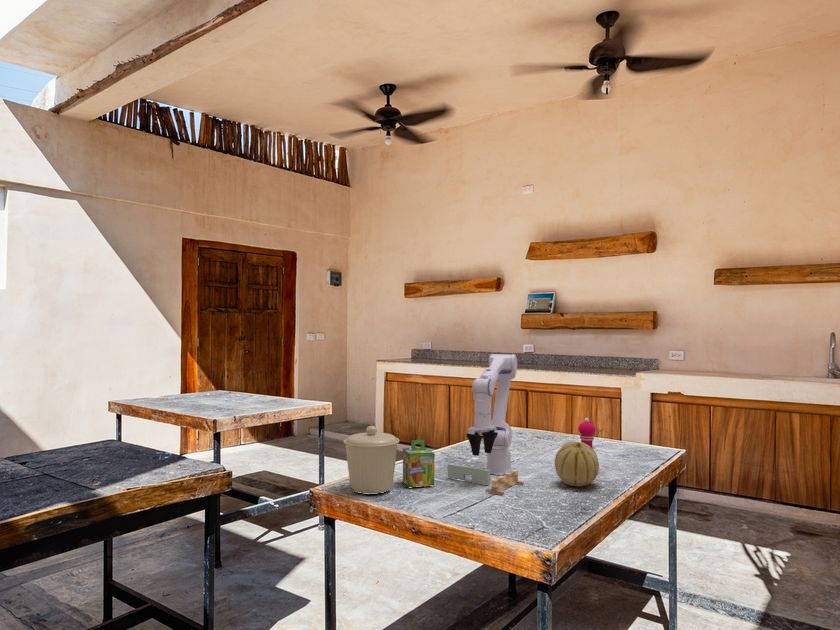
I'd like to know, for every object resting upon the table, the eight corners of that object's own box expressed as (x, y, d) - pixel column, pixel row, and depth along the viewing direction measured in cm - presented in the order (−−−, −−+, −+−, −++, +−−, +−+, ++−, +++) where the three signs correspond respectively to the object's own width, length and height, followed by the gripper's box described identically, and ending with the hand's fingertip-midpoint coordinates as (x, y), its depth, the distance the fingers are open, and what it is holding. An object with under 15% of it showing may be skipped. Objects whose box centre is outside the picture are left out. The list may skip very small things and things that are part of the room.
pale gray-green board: (450, 477, 202) (450, 463, 202) (490, 484, 193) (490, 470, 193) (447, 478, 201) (447, 464, 201) (487, 485, 192) (487, 470, 192)
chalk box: (408, 489, 188) (408, 444, 188) (401, 482, 196) (401, 438, 197) (435, 487, 190) (435, 442, 190) (427, 480, 199) (427, 437, 199)
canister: (399, 483, 195) (399, 421, 195) (399, 499, 177) (399, 430, 177) (346, 483, 194) (346, 421, 195) (340, 499, 176) (340, 431, 177)
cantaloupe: (581, 478, 202) (581, 435, 202) (608, 489, 188) (608, 443, 188) (545, 482, 196) (545, 438, 197) (571, 493, 183) (571, 446, 183)
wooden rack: (507, 481, 197) (507, 468, 197) (523, 484, 193) (523, 471, 194) (485, 492, 184) (485, 478, 184) (502, 495, 180) (502, 481, 181)
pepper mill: (598, 475, 205) (598, 419, 205) (577, 474, 207) (577, 419, 207) (596, 470, 212) (596, 416, 213) (576, 469, 214) (575, 415, 214)
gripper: (481, 415, 187) (480, 458, 186) (503, 413, 198) (503, 453, 197) (463, 414, 191) (462, 455, 190) (486, 412, 202) (485, 450, 201)
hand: (481, 454), depth 194 cm, fingers open, 7 cm apart
